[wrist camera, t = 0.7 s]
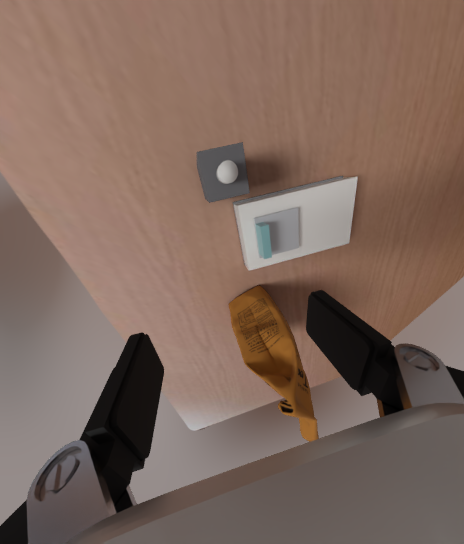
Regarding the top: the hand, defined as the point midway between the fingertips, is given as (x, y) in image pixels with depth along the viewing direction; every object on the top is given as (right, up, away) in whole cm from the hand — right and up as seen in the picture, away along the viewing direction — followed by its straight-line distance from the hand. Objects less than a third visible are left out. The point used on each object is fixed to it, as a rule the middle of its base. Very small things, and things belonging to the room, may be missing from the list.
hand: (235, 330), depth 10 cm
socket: (+10, +12, +21) cm, 27 cm away
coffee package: (+5, -5, +29) cm, 30 cm away
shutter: (+7, +10, +18) cm, 21 cm away
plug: (-3, +18, +16) cm, 24 cm away
